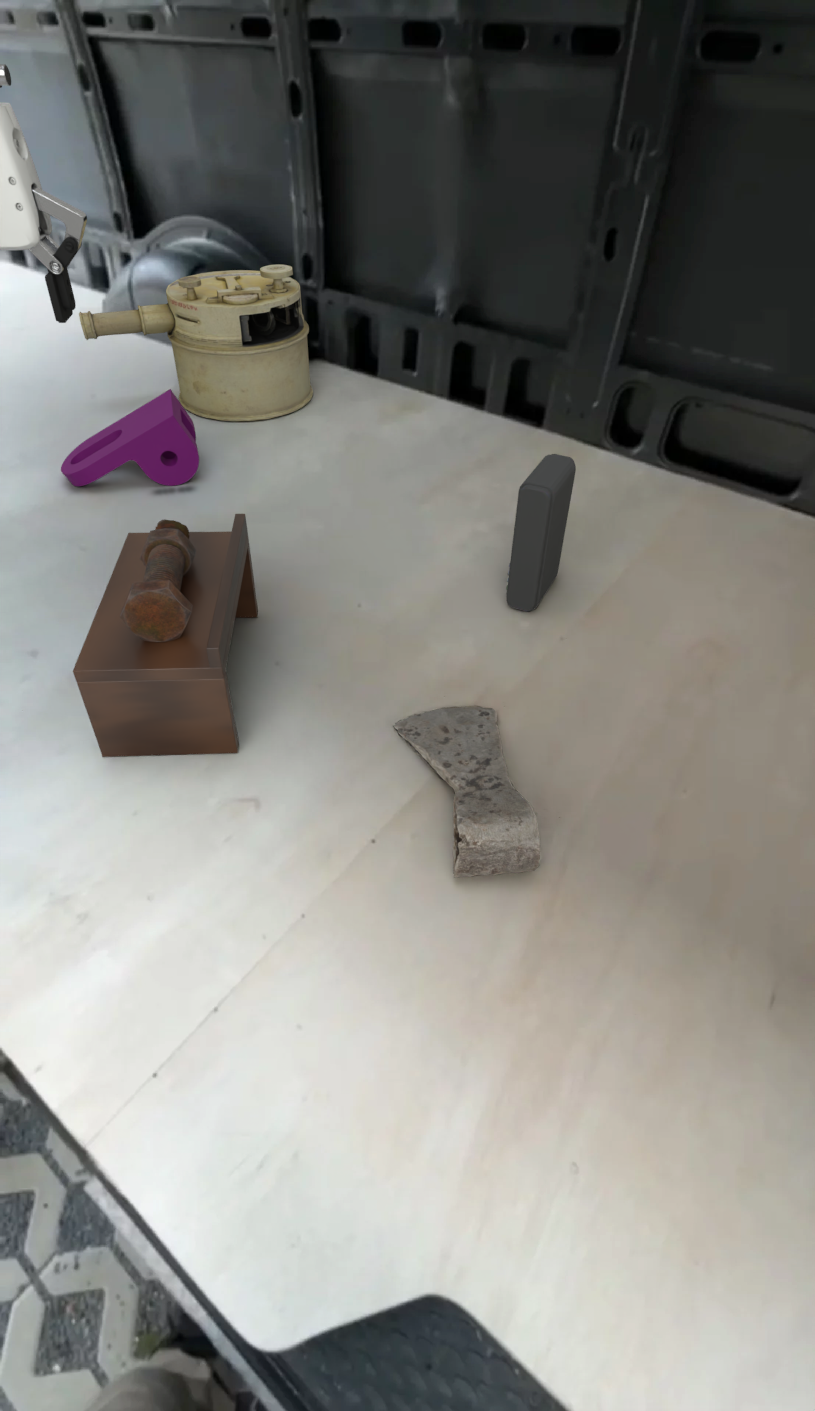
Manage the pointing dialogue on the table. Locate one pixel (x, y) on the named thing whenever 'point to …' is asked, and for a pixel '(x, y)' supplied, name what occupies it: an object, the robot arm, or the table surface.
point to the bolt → (161, 585)
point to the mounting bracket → (140, 445)
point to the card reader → (539, 531)
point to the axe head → (477, 790)
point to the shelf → (169, 655)
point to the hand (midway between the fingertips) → (11, 318)
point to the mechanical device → (228, 341)
